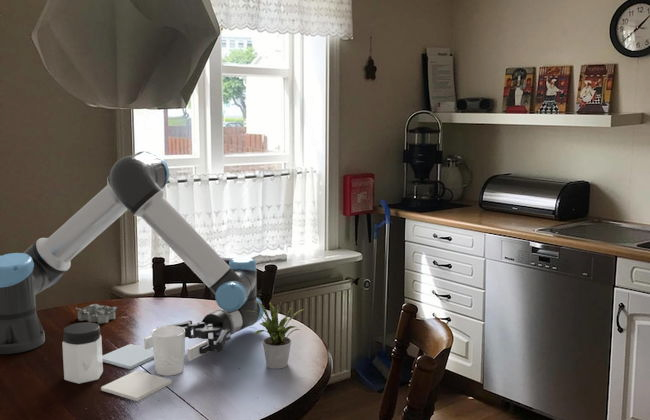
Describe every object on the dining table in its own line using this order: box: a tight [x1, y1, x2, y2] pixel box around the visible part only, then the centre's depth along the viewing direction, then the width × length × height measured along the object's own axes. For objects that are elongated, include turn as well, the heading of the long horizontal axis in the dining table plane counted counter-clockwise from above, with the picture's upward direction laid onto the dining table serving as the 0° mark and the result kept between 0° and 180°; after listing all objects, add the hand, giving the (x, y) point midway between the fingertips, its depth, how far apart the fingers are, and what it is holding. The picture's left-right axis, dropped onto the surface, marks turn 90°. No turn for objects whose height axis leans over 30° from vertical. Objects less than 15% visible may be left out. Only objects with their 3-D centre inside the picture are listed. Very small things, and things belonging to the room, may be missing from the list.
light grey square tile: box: [102, 343, 154, 370], centre depth 177 cm, size 11×11×1 cm
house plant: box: [249, 301, 305, 370], centre depth 172 cm, size 14×14×16 cm
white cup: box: [151, 325, 186, 377], centre depth 168 cm, size 8×8×10 cm
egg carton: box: [74, 303, 118, 325], centre depth 206 cm, size 11×8×4 cm
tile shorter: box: [100, 370, 172, 402], centre depth 160 cm, size 11×11×1 cm
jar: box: [61, 321, 104, 384], centre depth 164 cm, size 9×8×12 cm
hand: (166, 349), depth 167 cm, fingers open, 13 cm apart
